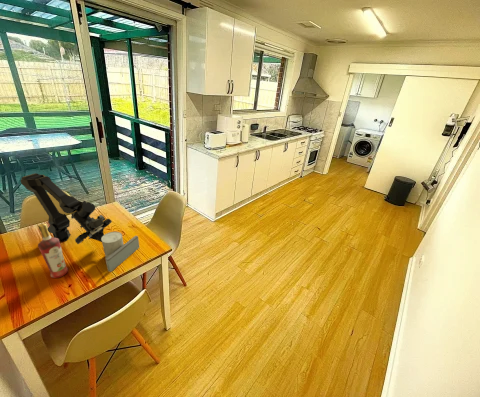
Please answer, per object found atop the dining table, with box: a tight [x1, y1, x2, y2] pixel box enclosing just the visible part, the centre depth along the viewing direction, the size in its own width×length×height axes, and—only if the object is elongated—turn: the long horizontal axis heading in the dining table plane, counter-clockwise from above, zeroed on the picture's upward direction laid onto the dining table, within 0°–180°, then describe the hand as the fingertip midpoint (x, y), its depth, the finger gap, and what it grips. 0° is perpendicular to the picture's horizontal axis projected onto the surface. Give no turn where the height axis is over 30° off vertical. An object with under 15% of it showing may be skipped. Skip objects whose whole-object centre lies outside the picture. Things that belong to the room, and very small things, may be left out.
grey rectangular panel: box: [104, 235, 140, 273], centre depth 118 cm, size 2×21×8 cm, turn 163°
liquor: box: [37, 223, 69, 279], centre depth 101 cm, size 7×7×28 cm
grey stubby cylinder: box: [101, 231, 125, 259], centre depth 119 cm, size 10×10×12 cm
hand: (105, 242), depth 120 cm, fingers closed, pressing on grey stubby cylinder
